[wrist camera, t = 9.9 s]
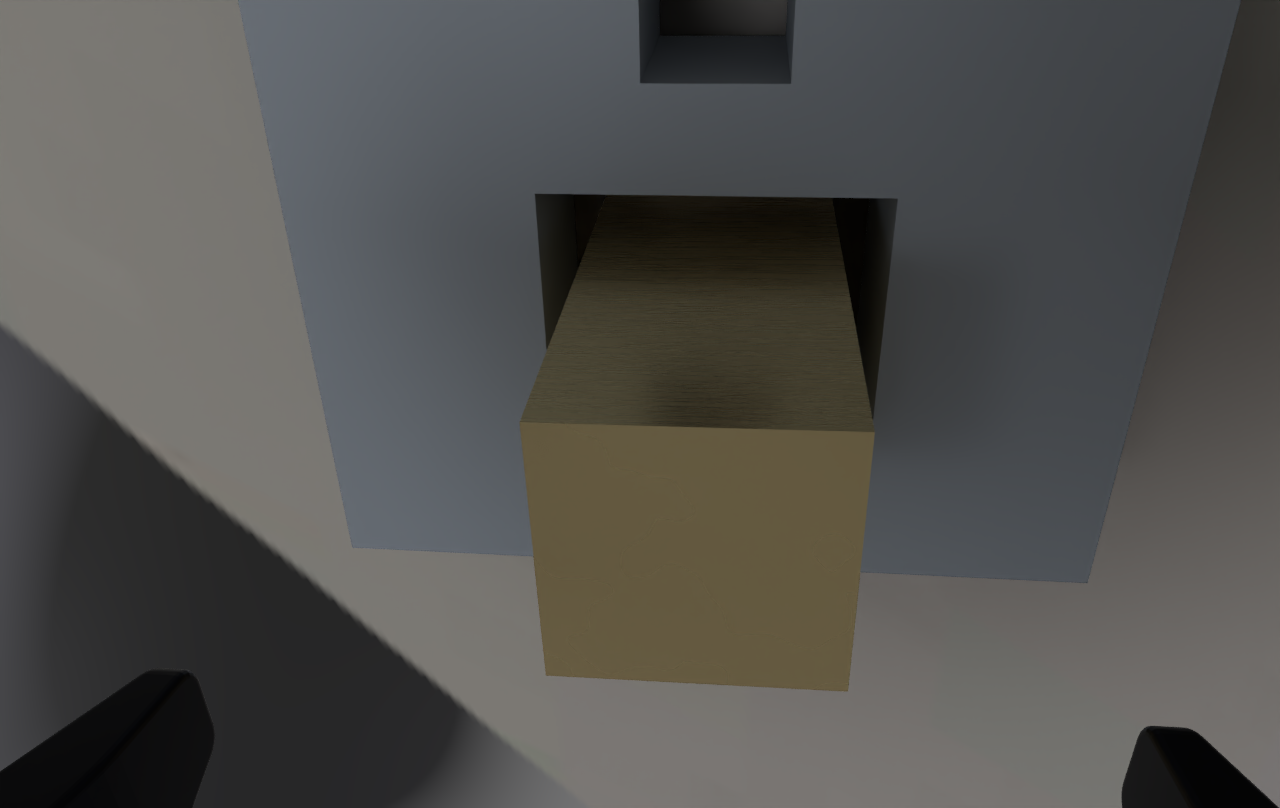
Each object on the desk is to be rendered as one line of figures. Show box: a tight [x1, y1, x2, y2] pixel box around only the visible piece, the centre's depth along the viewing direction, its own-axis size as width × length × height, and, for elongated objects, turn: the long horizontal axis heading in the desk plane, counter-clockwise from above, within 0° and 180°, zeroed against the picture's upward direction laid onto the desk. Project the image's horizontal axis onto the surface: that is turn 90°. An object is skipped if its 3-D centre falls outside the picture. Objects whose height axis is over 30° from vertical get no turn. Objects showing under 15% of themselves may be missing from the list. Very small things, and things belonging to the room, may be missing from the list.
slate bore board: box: [238, 0, 1241, 583], centre depth 17 cm, size 14×16×4 cm
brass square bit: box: [519, 195, 875, 691], centre depth 16 cm, size 4×4×9 cm
